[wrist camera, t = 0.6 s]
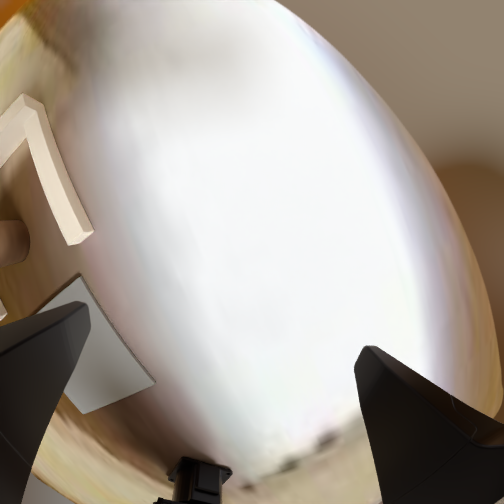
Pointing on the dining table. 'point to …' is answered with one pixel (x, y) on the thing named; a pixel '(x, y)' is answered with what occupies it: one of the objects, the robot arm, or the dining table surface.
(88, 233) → the white frame
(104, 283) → the dining table surface
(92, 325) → the mat
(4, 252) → the brown wooden cylinder
